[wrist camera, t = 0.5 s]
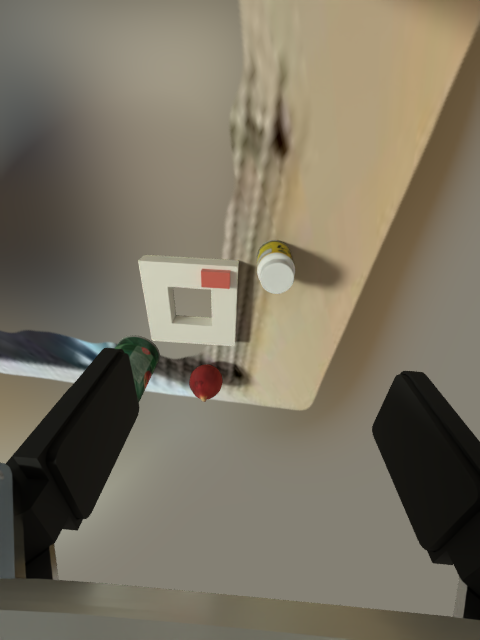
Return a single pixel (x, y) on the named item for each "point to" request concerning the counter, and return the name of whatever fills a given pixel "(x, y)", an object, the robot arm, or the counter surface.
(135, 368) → the canned tomato
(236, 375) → the counter surface
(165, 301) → the socket plate
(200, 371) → the onion
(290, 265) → the supplement bottle
